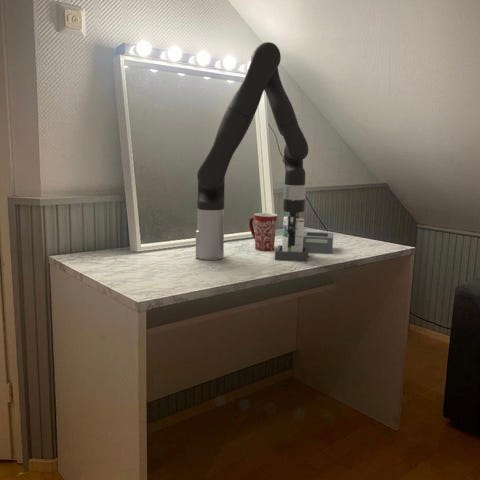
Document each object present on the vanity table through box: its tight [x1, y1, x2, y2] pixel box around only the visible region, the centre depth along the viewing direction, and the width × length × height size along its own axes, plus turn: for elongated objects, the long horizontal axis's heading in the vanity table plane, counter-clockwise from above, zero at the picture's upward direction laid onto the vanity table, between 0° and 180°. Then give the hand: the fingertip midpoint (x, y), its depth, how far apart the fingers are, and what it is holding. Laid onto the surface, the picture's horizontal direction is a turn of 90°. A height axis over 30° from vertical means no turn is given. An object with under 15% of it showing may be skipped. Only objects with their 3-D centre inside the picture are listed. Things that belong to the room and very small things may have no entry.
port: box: [303, 230, 334, 255], centre depth 189 cm, size 12×12×6 cm
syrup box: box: [281, 215, 305, 252], centre depth 175 cm, size 6×6×14 cm
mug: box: [248, 212, 279, 252], centre depth 190 cm, size 13×9×14 cm
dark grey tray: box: [274, 244, 309, 263], centre depth 176 cm, size 11×11×3 cm
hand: (292, 243), depth 175 cm, fingers open, 8 cm apart
